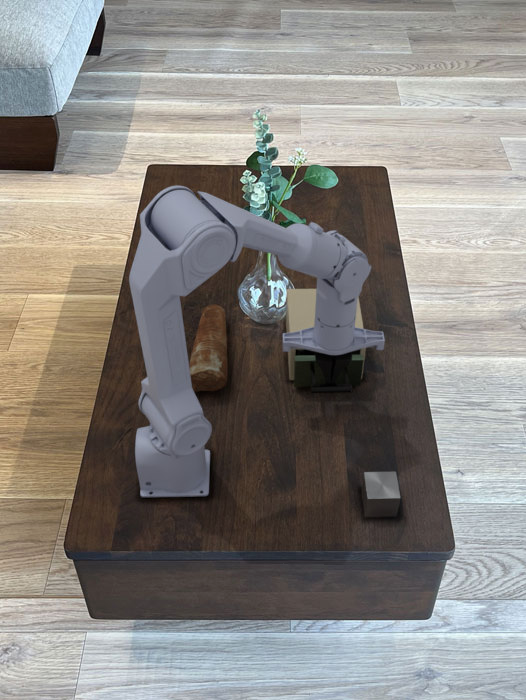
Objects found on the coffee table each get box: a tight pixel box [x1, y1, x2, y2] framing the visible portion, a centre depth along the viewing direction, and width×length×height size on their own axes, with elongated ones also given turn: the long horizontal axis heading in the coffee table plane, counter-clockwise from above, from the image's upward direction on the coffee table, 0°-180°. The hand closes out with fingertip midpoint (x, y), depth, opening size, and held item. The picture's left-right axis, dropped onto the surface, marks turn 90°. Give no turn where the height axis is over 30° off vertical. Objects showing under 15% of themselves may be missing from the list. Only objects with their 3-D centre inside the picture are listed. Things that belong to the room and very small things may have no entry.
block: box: [360, 471, 401, 518], centre depth 108 cm, size 4×4×4 cm
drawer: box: [293, 349, 364, 395], centre depth 125 cm, size 17×10×6 cm, turn 1°
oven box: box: [285, 288, 367, 381], centre depth 129 cm, size 14×12×8 cm
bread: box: [188, 304, 229, 393], centre depth 129 cm, size 6×19×6 cm, turn 177°
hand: (329, 381), depth 120 cm, fingers closed
